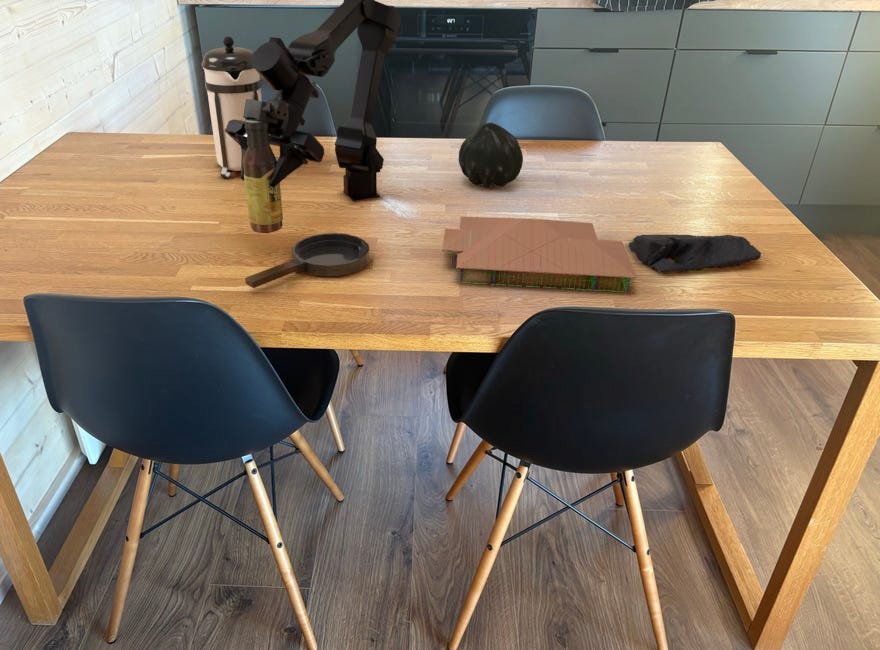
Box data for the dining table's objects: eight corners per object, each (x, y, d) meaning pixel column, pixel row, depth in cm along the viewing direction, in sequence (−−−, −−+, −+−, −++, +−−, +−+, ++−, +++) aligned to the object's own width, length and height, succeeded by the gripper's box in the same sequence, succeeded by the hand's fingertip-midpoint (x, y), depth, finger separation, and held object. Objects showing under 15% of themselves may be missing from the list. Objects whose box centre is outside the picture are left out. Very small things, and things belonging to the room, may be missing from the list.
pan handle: (296, 266, 125) (295, 257, 124) (305, 271, 124) (305, 262, 123) (245, 286, 119) (244, 277, 118) (254, 292, 117) (253, 282, 116)
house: (445, 231, 141) (447, 192, 136) (612, 239, 138) (620, 200, 134) (439, 283, 122) (441, 240, 117) (632, 294, 119) (642, 250, 115)
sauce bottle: (279, 235, 128) (268, 125, 117) (246, 234, 129) (232, 124, 117) (287, 221, 134) (277, 115, 122) (255, 220, 134) (242, 114, 123)
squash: (515, 146, 171) (481, 102, 162) (543, 167, 159) (509, 121, 150) (472, 187, 174) (436, 146, 164) (497, 211, 162) (461, 168, 153)
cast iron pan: (352, 240, 137) (352, 228, 135) (381, 269, 126) (381, 256, 125) (283, 252, 132) (282, 240, 130) (307, 284, 121) (306, 271, 120)
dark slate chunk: (769, 272, 127) (778, 248, 124) (652, 276, 125) (658, 252, 122) (729, 238, 139) (736, 215, 137) (622, 241, 137) (626, 218, 135)
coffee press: (289, 166, 174) (279, 34, 157) (245, 184, 162) (228, 44, 146) (237, 153, 181) (222, 27, 165) (191, 170, 170) (170, 36, 153)
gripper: (224, 72, 123) (190, 151, 121) (310, 85, 116) (275, 170, 114) (258, 108, 133) (226, 181, 132) (339, 122, 126) (307, 200, 124)
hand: (256, 183), depth 125 cm, fingers closed on sauce bottle, 6 cm apart
